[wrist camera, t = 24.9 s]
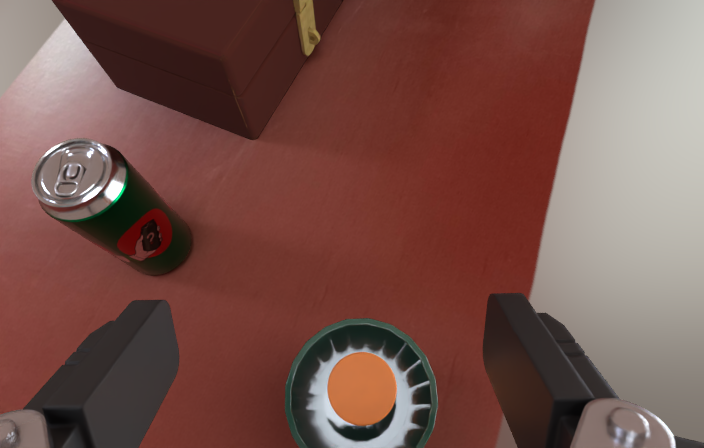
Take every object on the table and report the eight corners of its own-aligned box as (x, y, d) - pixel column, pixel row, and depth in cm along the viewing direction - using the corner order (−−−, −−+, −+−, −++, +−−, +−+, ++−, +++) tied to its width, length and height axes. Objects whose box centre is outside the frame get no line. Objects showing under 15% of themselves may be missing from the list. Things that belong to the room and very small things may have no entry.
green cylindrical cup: (427, 432, 30) (463, 445, 20) (329, 474, 29) (312, 509, 19) (388, 333, 32) (401, 298, 22) (296, 368, 31) (266, 348, 21)
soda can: (199, 217, 36) (128, 132, 25) (187, 278, 34) (105, 215, 23) (137, 216, 36) (40, 130, 25) (123, 276, 34) (10, 212, 23)
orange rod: (340, 414, 30) (322, 420, 15) (345, 377, 31) (332, 347, 16) (376, 420, 30) (393, 430, 15) (380, 382, 30) (399, 356, 16)
